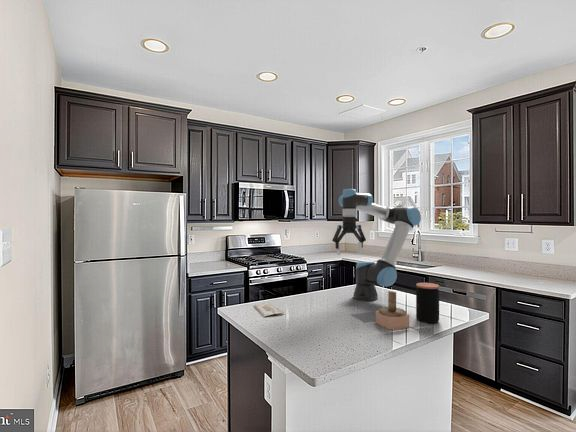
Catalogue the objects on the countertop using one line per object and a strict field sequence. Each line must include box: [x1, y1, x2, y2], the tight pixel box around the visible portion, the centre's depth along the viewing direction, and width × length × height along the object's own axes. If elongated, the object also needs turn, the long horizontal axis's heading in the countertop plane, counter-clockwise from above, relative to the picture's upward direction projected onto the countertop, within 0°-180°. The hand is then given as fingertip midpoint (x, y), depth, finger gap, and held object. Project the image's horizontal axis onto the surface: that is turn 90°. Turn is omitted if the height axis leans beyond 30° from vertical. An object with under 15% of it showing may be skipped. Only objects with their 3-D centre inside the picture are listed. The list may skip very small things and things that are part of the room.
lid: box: [378, 290, 407, 317], centre depth 160 cm, size 12×12×10 cm
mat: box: [349, 311, 376, 324], centre depth 172 cm, size 14×14×1 cm
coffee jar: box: [415, 282, 440, 325], centre depth 167 cm, size 11×11×18 cm
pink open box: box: [375, 309, 410, 330], centre depth 160 cm, size 11×11×6 cm
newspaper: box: [253, 302, 286, 318], centre depth 185 cm, size 23×12×2 cm, turn 20°
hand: (349, 254), depth 188 cm, fingers open, 13 cm apart
